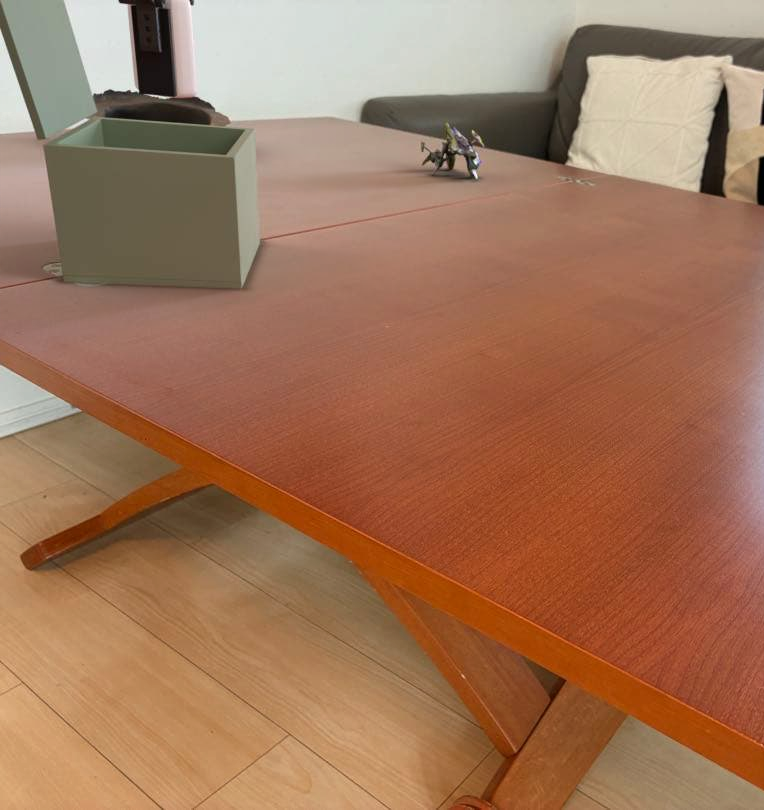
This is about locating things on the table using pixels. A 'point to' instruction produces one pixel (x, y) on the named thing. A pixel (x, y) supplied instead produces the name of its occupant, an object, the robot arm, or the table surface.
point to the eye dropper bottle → (177, 47)
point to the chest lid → (46, 64)
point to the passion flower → (455, 151)
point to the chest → (155, 203)
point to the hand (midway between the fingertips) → (165, 89)
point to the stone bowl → (156, 108)
